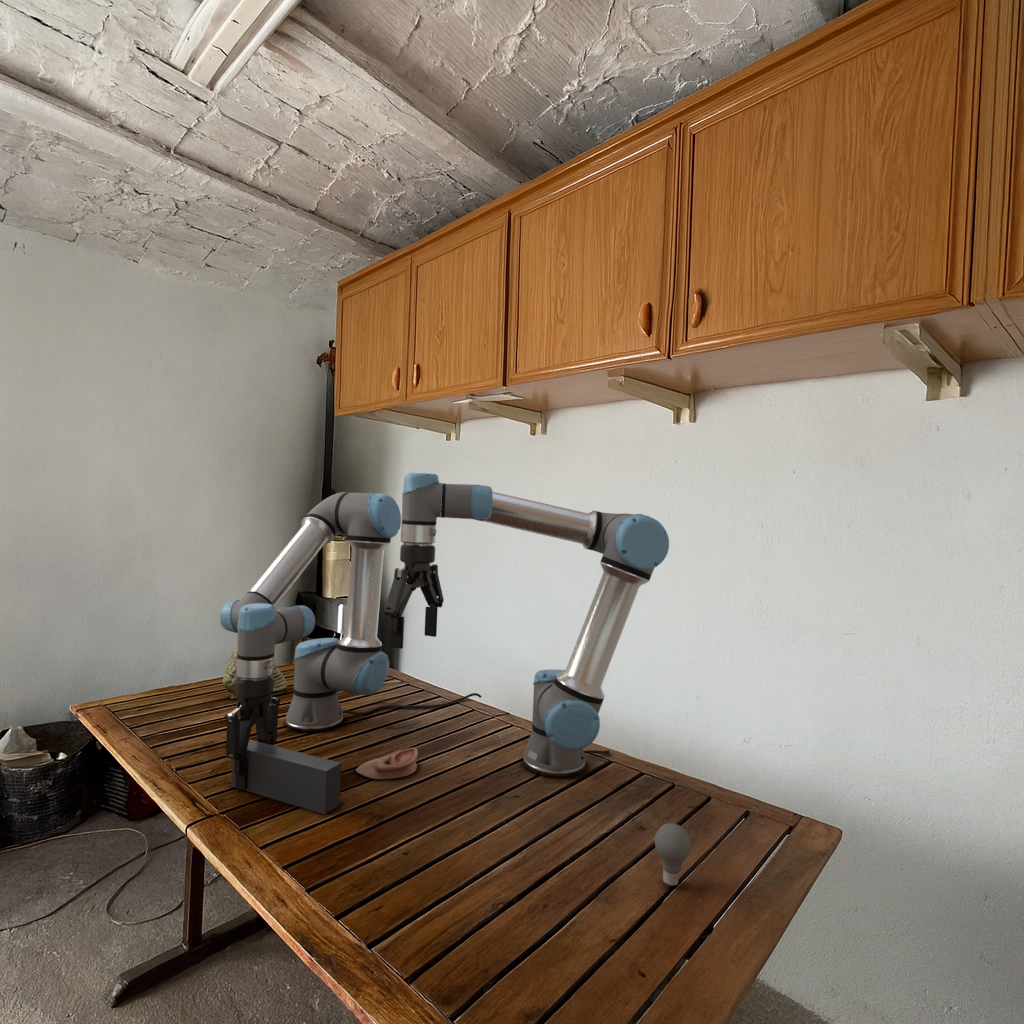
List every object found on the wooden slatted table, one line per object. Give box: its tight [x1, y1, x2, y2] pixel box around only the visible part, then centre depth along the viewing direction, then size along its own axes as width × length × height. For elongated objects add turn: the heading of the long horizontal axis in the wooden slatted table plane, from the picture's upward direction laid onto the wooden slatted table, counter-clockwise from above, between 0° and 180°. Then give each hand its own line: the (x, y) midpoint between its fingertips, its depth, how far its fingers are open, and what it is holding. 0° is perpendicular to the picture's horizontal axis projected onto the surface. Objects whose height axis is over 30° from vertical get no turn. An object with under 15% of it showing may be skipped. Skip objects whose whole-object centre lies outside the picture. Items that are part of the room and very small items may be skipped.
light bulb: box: [654, 822, 692, 886], centre depth 108 cm, size 6×6×10 cm
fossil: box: [222, 648, 288, 699], centre depth 198 cm, size 9×18×15 cm, turn 132°
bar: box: [231, 738, 342, 815], centre depth 134 cm, size 25×5×9 cm, turn 66°
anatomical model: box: [355, 747, 419, 780], centre depth 148 cm, size 13×4×12 cm
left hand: (251, 782), depth 137 cm, fingers closed on bar, 5 cm apart
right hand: (414, 641), depth 138 cm, fingers open, 13 cm apart
